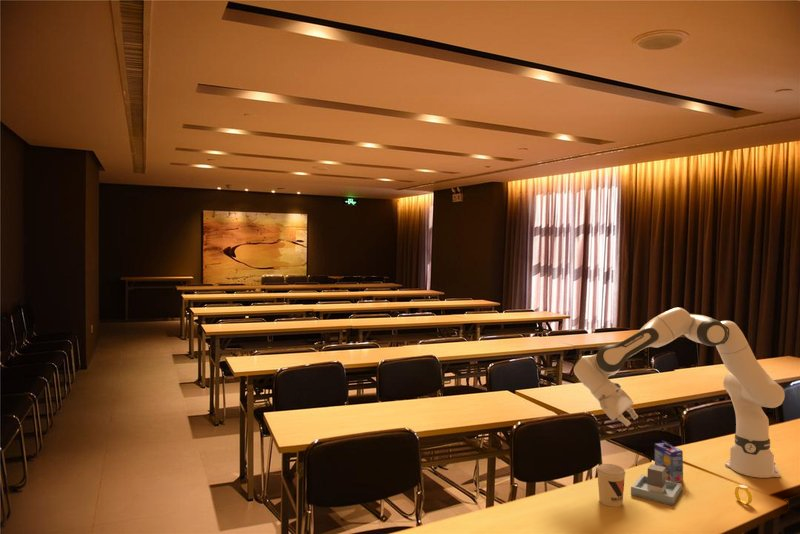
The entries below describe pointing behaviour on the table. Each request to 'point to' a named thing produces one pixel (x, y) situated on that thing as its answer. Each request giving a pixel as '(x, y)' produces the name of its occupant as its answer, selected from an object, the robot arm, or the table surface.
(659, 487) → the block
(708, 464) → the table surface
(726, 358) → the robot arm
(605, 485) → the coffee cup
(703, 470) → the table surface
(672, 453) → the ink cartridge box
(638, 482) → the slate tray
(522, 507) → the table surface
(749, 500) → the watch
